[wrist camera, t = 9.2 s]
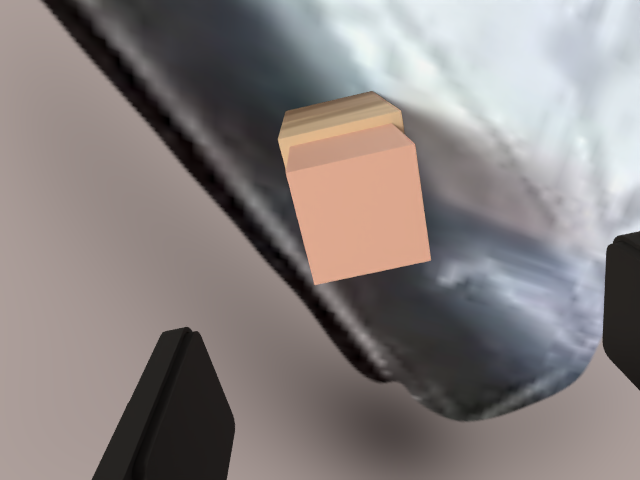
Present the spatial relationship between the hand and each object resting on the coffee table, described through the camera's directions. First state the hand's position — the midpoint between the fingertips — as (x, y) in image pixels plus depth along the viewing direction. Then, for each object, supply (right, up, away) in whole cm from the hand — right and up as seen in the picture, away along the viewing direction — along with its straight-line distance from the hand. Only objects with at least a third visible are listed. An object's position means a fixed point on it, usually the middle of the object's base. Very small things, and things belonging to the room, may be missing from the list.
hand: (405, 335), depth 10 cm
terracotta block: (0, +5, +12) cm, 13 cm away
